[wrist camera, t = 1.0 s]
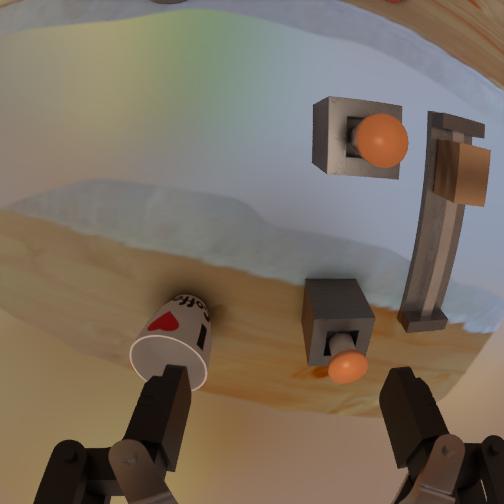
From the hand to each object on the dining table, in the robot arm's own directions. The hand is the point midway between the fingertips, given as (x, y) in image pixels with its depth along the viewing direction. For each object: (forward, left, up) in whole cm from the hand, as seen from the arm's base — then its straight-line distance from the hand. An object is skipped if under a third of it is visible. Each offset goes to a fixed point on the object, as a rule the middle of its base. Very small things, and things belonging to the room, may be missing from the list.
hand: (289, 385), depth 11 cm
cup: (+12, -10, -23) cm, 28 cm away
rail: (0, +20, -23) cm, 30 cm away
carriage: (-7, +20, -22) cm, 30 cm away
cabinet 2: (+10, +7, -23) cm, 26 cm away
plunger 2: (-9, +7, -15) cm, 19 cm away
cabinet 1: (-9, +7, -23) cm, 25 cm away
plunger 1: (+10, +7, -15) cm, 19 cm away
